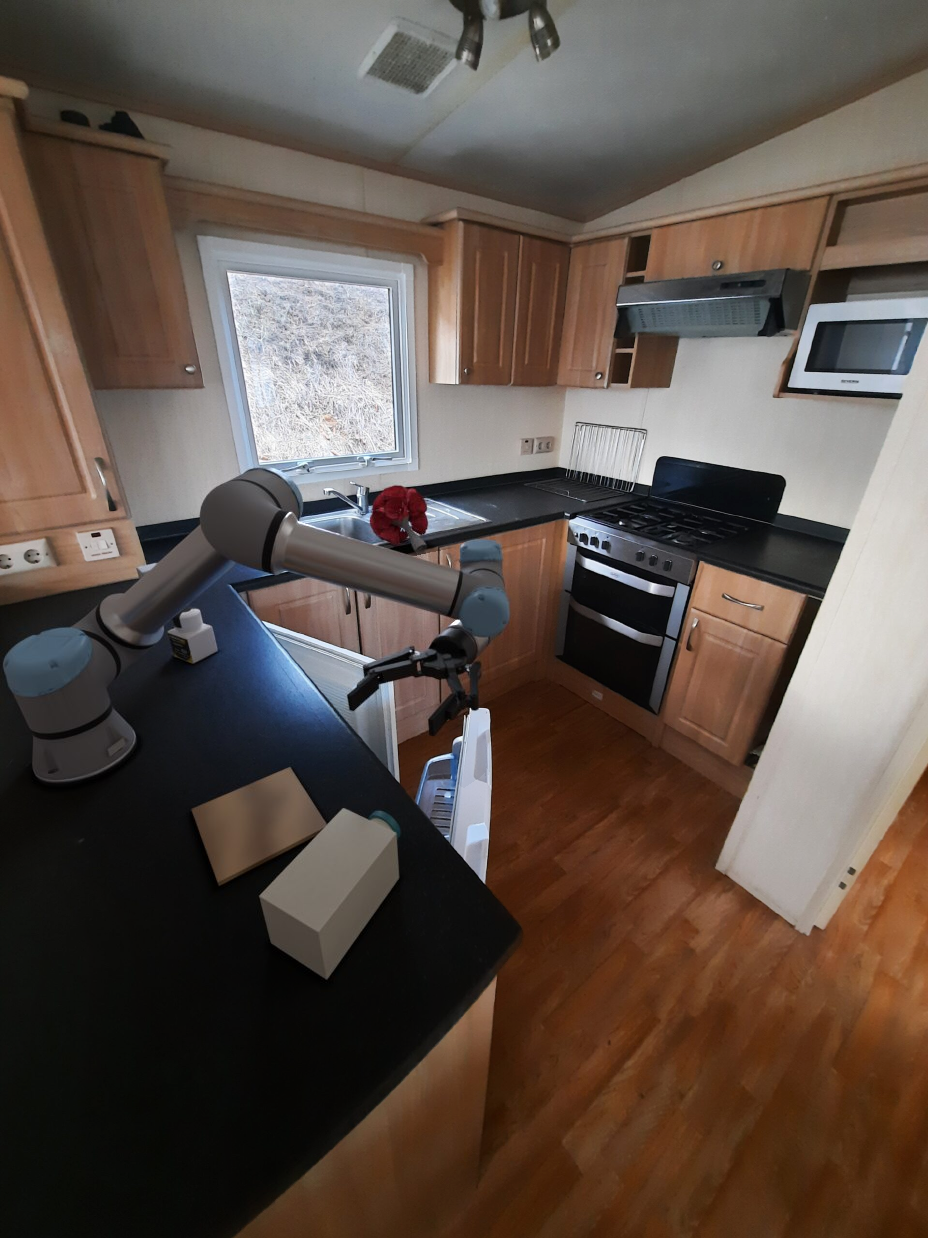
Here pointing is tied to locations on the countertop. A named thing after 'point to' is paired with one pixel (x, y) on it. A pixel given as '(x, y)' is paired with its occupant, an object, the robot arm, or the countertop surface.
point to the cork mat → (256, 824)
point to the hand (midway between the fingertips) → (388, 715)
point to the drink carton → (332, 889)
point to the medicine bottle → (191, 636)
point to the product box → (144, 569)
